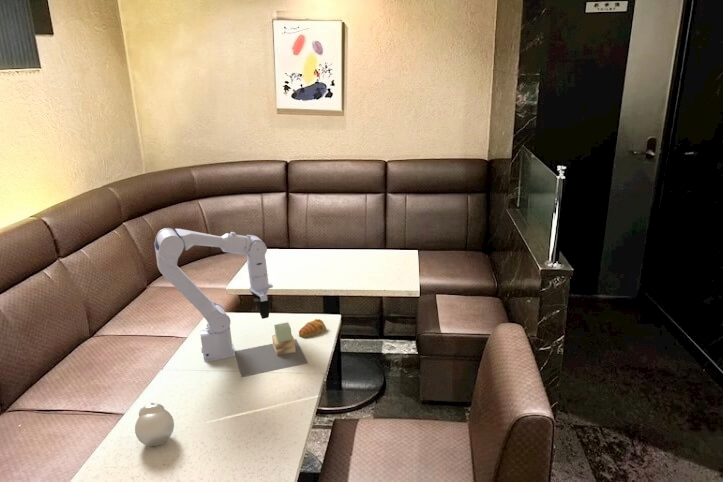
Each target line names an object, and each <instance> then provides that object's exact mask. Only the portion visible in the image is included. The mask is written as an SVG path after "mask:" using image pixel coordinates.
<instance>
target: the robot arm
mask: <svg viewBox="0 0 723 482" xmlns="http://www.w3.org/2000/svg"><path fill="white" fill-rule="evenodd" d="M194 246H199V247H200V246H204V247H211V248H212V247H213V248H220V249H221V251H222V252H223V253H230V254H237V255H246V259H247V260H246V261H247V262H246V263H247V269H248V280H249V286H250V287H249V292H250V293H251V295H252V296H253V302H254V304H255V305H256V308H257V310H258V311H259V314H260V317H261V319H262V320H263V319H268V318H269V317H270V308H271V304H272V302H273V297H272V296H268V293H269V290H270V289H272V288H274V286H273V283H269V274H268V269H267V268H268V267H267V260H266V254H267V251H268V247H267V246H266V243H265V242H264V241H263V240H262V239H261V238H260V237H258V236H256V235H254V234H246V235H241V234H237V233H236V232H235V231H230V233H228V232H227V233H224V234H223V235H221V236H220V235H214V234H209V233H204V232H199V231H193V230H189V229H183V228H174V229H173V228H171V227H164V228H162V229H160V230H159V231H158V232H157V234H156V236H155V240H154V250H155V251H154V252H155V256H156V257H155V258H156V265H157V269H158V271H159V272H160V274H162V276H163V277H164V278H165V279H166V280H167V281H169V283H170V284H171V285H172V286H173V287H174V288H175V289H176V290H177V291H178V292H179V293H181V295H182V296H183V297H184V298H185V299H186V300H187V301H188V302H189V303H190V304H191V305H192V306H193V307H194V308H195V309H197V311H198V312H199V313H200V314H201V315H202V317H203V318H204V319H205V320H206V322H207V324H206V327H205V328H204V329H201V330H199V335H200V336H199V337H200V340H201V341H200V342H201V347H200V349H201V351H200V352H201V354H203V361H204V362H205V363H206V362H207V363H208V362H211V361H217V360H222V359H226V358H230V357H233V358H234V357H236V355H235V351H236V350H235V347H234V344H233V340H232V333H231V332H232V331H231V318H230V316H229V315H228V314H227V313H226V311H225V310H224V309H225V308H224V307H223V306H222V305H221V304H220V303H218V302H214V301H213V300H212V299H211V298H209V297H208V296H207V295H206V294H205V293H204V292H203V290H201V289H200V287H199V286H197V285H196V283H195V282H193V280H192V279H191V278H190V277H189V276H188V275H187V274H186V273H185V272H184V271H183V270H182V269H181V268H180V267H179V266H178V262H179V258H180V256H181V255H182V253H183V251H184V250H185V251H188V250H190V249H191V248H192V247H194Z"/></svg>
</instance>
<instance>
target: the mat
mask: <svg viewBox="0 0 723 482" xmlns="http://www.w3.org/2000/svg"><path fill="white" fill-rule="evenodd" d="M294 340H295V349H296V352H292V353H287V354H282V355H278V356H277V355H276V352H275V350H274V347H273V343H269V344H263V345H260V346H254V347H250V348H249V347H248V348H244V349H239V350H234V351H235V358H236V363H237V365H238V369H239V374H240V377H241V378H245V377H250V376H254V375H258V374H263V373H268V372H272V371H277V370H282V369H286V368H292V367H296V366H302V365H306V364H309V362H308V360H307V359H306V356H305V354H304V352H303V350H302V348H301V346H300V344H299V342H298V340H297V338H294Z"/></svg>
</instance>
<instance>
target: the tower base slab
mask: <svg viewBox="0 0 723 482" xmlns="http://www.w3.org/2000/svg"><path fill="white" fill-rule="evenodd" d="M272 344H273V347H274V350H275V352H276V355H277V356H278V355H282V354H287V353H292V352H296V349H295V346H294V347H289V348H284V349H279V350H276V348H275V346H274V343H273V342H272Z"/></svg>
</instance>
